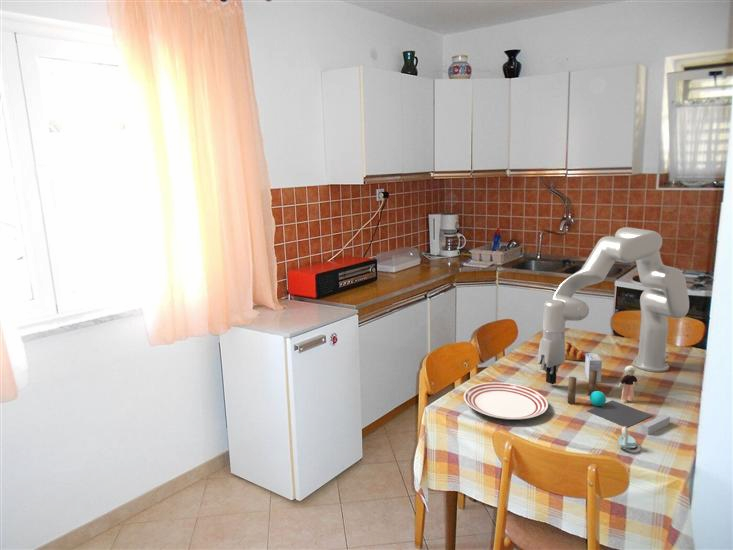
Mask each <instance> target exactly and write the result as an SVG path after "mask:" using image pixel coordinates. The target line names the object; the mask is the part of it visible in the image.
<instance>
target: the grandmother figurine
mask: <svg viewBox="0 0 733 550" xmlns="http://www.w3.org/2000/svg"><path fill="white" fill-rule="evenodd" d="M635 372H636V367H635V366H634V365H627V366H625V367H624V373H626V374H625V375H624V376H623V377H622V379H621V380H620V381H619V384H618V386H617V387H618V388H619V389H621V388H622V389H621V390H622V391H621V397H620V398H621V399H619V401H620V402H621V404H628V403H633V402H634V395H635V394H634V385H639V381H638V378H637V377H636V376H635ZM622 386H623V387H622Z"/></svg>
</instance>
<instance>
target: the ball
mask: <svg viewBox="0 0 733 550" xmlns="http://www.w3.org/2000/svg"><path fill="white" fill-rule="evenodd" d="M589 401H590V403H591V404H592V405H594V406H595V407H597V406H602V405H604V404H605V403H607V397H606V395H605V393H604V392H602V391H600V390H596V391H595V392H593V393H592V394H591V395H589Z"/></svg>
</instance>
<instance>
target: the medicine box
mask: <svg viewBox="0 0 733 550" xmlns="http://www.w3.org/2000/svg"><path fill="white" fill-rule="evenodd" d="M585 354H586V357H585V359H584V360H585V361H584V362H585V363H584V375H585V378H586V379H587V381H588V382H589V374H590V369H595V370H597V381H596V383H601V382H602V367H603V365H602V364H603V361H602V359H601V357H600V355H599V354H598V353H595V352H594V353H593V352H590V353H589V352H588V353H587V352H586V353H585Z"/></svg>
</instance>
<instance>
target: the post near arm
mask: <svg viewBox="0 0 733 550" xmlns="http://www.w3.org/2000/svg"><path fill="white" fill-rule="evenodd" d="M596 381H597V370H595V369H590V374H589V381H588V389H587V390H588V393H587V396H590V395H591V394H592V393H593V392H595V391H597V382H596Z"/></svg>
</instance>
